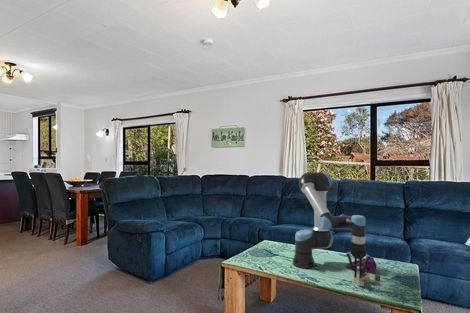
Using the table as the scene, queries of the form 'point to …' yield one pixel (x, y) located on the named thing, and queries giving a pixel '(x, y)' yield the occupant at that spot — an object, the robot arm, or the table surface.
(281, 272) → the table surface
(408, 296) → the table surface
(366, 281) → the collar
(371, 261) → the mounting bracket
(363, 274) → the base
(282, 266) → the table surface
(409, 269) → the table surface
